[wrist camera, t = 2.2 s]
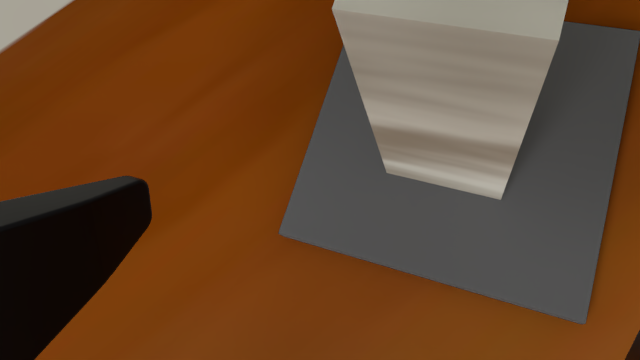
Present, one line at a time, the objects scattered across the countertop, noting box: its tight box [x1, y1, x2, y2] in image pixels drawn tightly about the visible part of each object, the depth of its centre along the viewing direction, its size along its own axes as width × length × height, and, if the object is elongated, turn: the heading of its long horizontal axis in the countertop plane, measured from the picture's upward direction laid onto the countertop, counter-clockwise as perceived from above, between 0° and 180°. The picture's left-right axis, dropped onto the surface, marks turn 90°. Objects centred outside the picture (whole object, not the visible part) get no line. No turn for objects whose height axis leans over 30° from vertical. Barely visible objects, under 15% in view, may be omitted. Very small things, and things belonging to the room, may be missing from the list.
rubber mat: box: [279, 21, 640, 324], centre depth 23 cm, size 13×13×1 cm
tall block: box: [332, 0, 568, 200], centre depth 17 cm, size 5×5×12 cm
